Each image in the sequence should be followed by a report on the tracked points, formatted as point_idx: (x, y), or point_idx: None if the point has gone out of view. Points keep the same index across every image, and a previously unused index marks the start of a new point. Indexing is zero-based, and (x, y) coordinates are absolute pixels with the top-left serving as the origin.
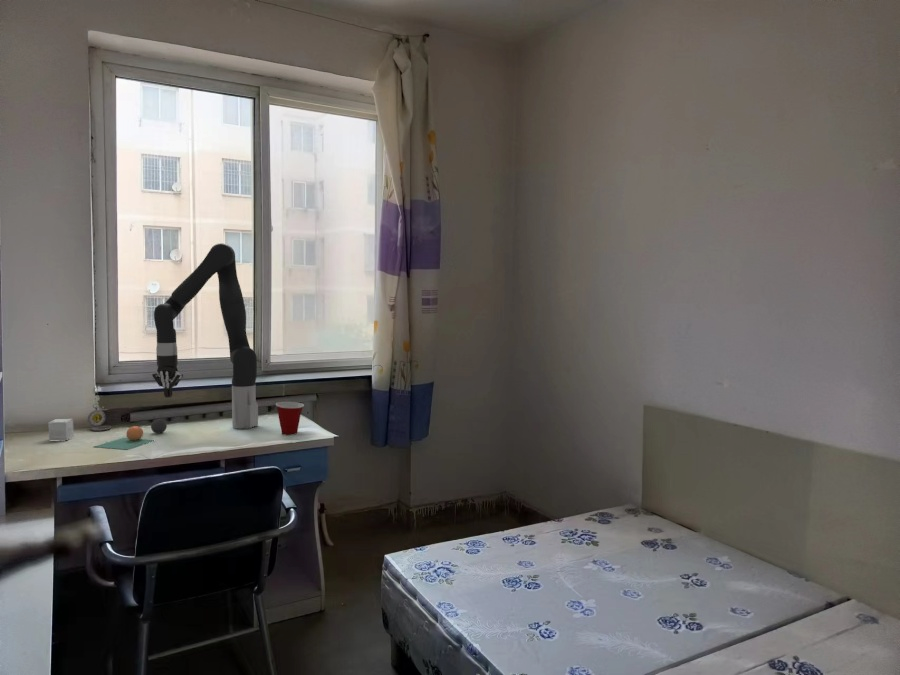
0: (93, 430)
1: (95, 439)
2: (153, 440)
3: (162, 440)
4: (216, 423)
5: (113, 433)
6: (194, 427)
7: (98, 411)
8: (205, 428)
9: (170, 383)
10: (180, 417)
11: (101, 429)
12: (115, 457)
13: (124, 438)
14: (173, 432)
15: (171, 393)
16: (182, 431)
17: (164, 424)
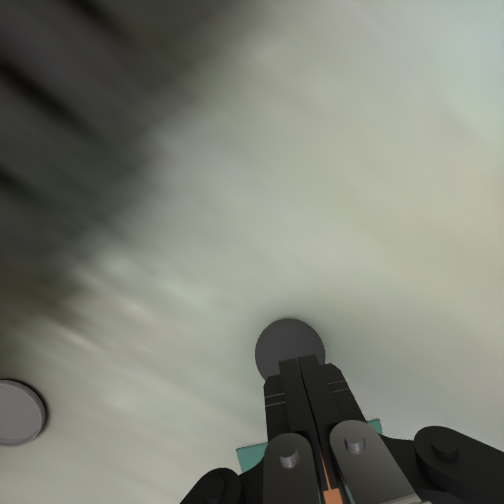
0: (15, 440)
1: (165, 500)
2: (378, 427)
3: (400, 404)
4: (362, 34)
5: (123, 422)
6: (331, 175)
7: None
8: (399, 164)
9: (365, 500)
10: (30, 11)
11: (40, 430)
12: None
13: (252, 456)
14: (327, 297)
15: (341, 388)
16: (348, 264)
17: (324, 353)
